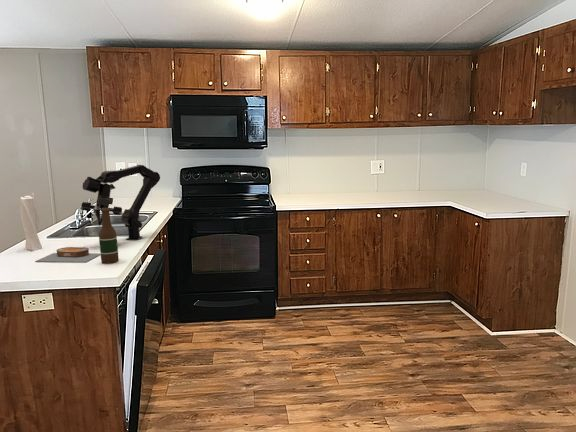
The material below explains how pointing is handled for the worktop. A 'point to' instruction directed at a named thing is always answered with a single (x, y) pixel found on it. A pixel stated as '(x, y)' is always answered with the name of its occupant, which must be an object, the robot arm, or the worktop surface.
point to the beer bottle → (108, 239)
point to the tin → (72, 251)
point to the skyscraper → (30, 222)
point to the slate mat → (69, 258)
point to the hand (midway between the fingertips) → (99, 225)
